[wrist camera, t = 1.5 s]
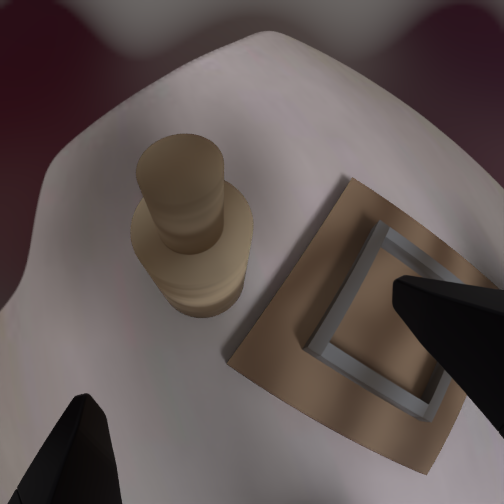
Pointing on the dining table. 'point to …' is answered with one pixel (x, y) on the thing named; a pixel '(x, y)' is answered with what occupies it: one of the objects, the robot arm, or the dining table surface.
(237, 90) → the dining table surface
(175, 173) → the wooden peg
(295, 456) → the dining table surface
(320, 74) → the dining table surface
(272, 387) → the board
